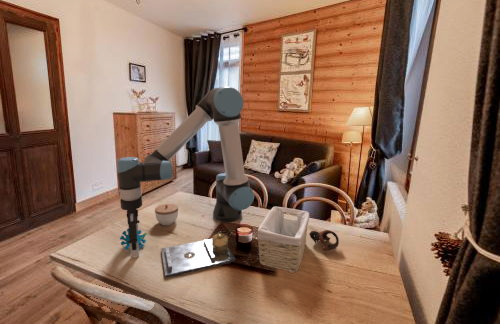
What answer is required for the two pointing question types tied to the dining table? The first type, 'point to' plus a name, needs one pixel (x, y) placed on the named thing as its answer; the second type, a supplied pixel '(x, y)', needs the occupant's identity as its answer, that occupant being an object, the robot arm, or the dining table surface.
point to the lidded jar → (166, 213)
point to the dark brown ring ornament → (322, 237)
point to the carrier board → (196, 256)
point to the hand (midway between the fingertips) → (135, 246)
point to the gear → (139, 237)
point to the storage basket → (283, 239)
